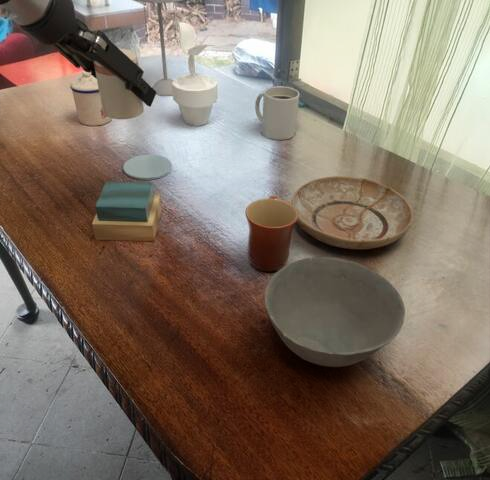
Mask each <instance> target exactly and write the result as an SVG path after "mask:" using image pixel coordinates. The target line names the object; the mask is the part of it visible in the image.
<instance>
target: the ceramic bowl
mask: <svg viewBox="0 0 490 480" xmlns="http://www.w3.org/2000/svg"><path fill="white" fill-rule="evenodd" d="M290 204H291V205H293V206H294V207H295V208H296V209H297V211H298V219H297V221H296V223H297V224H298V226H299V227H300V228H301V229H302V230H303V231H304V232H305V233H307V234H308V235H309V236H311V237H312V238H314V239H316V240H318V241H320V242H322V243H324V244H327V245H330V246H332V247H333V246H334V247H337V248H340V249H341V248H342V249H349V250H371V249H376V248H380V247H381V248H382V247H384V246H388V245H390V244H392V243H394V242H396V241H398V240H399V239H400V238H402V237H403V236H404V235H405V234H407V232H408V231H409V230H410V228H411V227H412V225H413V224H412V223H413V221H414V212H413V208H412V206H411V204H410V203H409V201H408V200H407V199H406V198H405V197H404V196H403V195H402V194H401V193H399V192H398V191H396V190H395V189H393V188H392V187H390V186H388V185H385V184H383V183H380V182H377V181H375V180H371V179H367V178H362V177H355V176H344V175H343V176H341V175H338V176H335V175H333V176H326V177H320V178H316V179H313V180H310V181H308V182H306V183H304V184H303V185H301V186H300V187H299V188H297V189H296V191H295V192H294V193H293V195H292V198H291V202H290Z"/></svg>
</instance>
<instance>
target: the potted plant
mask: <svg viewBox="0 0 490 480" xmlns="http://www.w3.org/2000/svg"><path fill="white" fill-rule="evenodd" d="M174 15H175V20H174V19H173V21H172V24H173V25H174V28H175V31H178V29H179V39H178V37H176V40H175V43H176V44H177V45H180V49H181V51H182V52H183V53H184V54H185V55H188V59H187V62H188V71H189V74H188V75H181V76H179V77H176V78H174V79H172V80H173V83H172V89H173V95H172V101H174V102H175V103H176V104H177V106H178V109H179V111H180V114H181V116H182V118H183V121H184V122H185V123H186V124H187V125H190V126H194V127H195V126H196V127H199V126H203V125H205V124H208V123H209V120H210V117H211V113H212V109H213V106H214V104H216V103H217V101H218V81H217V80H216V79H215V78H214V77H211V76H207V75H203V74H201V73H196V66H195V56H199V55H200V54H201V53H202V52H203V51H204V50H205V49H206V48H207V47H214V46H215V45H216V44H214V43H206V44H198V45H196V43H197V33H196V29H195V28H194V27H193V26H192V25H191V24H189V23H188V22H181V21H178V19H177V14H176V13H174ZM167 34H168V35H167V36H166V38H168V40H169V42H170V41H171V38H172V36H171V35H170V33H167Z"/></svg>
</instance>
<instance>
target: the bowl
mask: <svg viewBox="0 0 490 480" xmlns="http://www.w3.org/2000/svg"><path fill="white" fill-rule="evenodd" d="M264 307H265V310H266V313H267V315H268V318H269V320H270V323H271V324H272V326H273V328H274V330H275V332H276V333H277V335H278V336H279V338H280V340H282V342H283V343H284V344H285V346H286V347H287V348H288V349H289V350H290V351H291V352H293V353H294V354H295V355H296V356H298V357H299V358H301V359H302V360H304V361H306V362H308V363H311V364H313V365H314V364H315V365H316V366H321V367H328V368H329V367H330V368H341V367H347V366H352V365H355V364H358V363H360V362H362V361H364V360H366V359H368V358H369V357H371V356H373V355H374V354H376V353H377V352H378V351H380V350H381V349H383V348H385V347H386V346H387V345H388V344H390V343H391V342H392V341H393V340H394V339H395V338H396V337H397V336H398V335H399V333H400V332H401V329H402V327H403V326H404V322H405V317H406V307H405V303H404V300H403V299H402V297H401V293H399V292H398V290H397V289H396V287H394V285H393V284H392V283H391V282H390V281H389V280H387V279H386V278H385V277H383V275H381V274H379V273H378V272H376V271H374V270H373V269H371V268H369V267H368V266H365V265H363V264H362V263H358V262H356V261H351V260H348V259H345V258H339V257H333V256H332V257H330V256H329V257H328V256H327V257H326V256H315V257H306V258H302V259H297V260H295V261H293V262H290V263H288V264H286V265H285V266H284V267H283V268H281V269H279V270H277V271H275V273H274V274H273V275H272V277H271V278H270V280H268V283H267V284H266V288H265V291H264Z"/></svg>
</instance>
